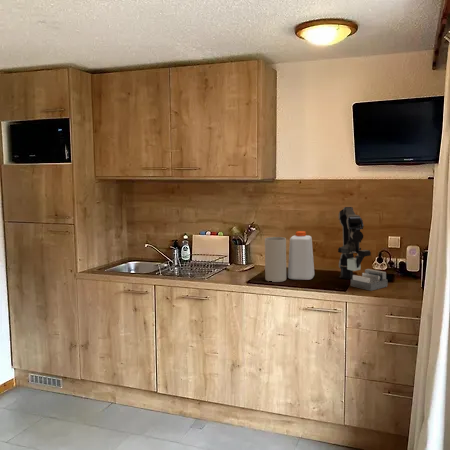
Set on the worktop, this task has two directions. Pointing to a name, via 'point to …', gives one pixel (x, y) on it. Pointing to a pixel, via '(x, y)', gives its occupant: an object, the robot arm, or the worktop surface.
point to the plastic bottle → (301, 257)
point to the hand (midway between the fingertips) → (353, 266)
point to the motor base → (370, 280)
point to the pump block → (352, 264)
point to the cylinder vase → (275, 259)
